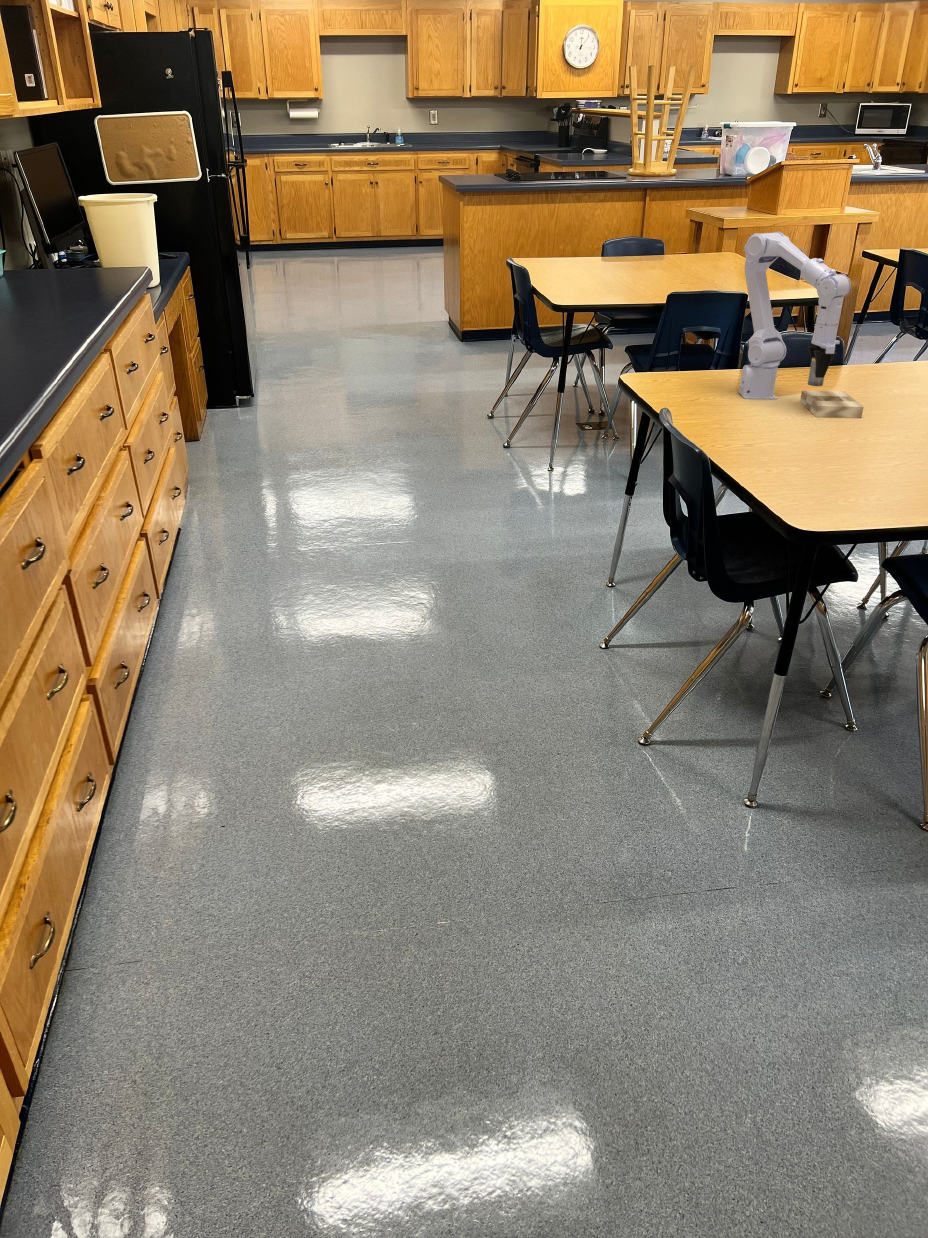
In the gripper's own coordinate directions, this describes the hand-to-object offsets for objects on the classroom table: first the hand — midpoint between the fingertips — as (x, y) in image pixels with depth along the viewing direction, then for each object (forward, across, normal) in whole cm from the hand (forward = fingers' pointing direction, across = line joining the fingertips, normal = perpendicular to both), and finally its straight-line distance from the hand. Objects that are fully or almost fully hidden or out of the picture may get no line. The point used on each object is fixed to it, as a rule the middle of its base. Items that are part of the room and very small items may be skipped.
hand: (817, 375), depth 244 cm
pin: (+2, 0, 0) cm, 3 cm away
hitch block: (+10, +1, -5) cm, 11 cm away
